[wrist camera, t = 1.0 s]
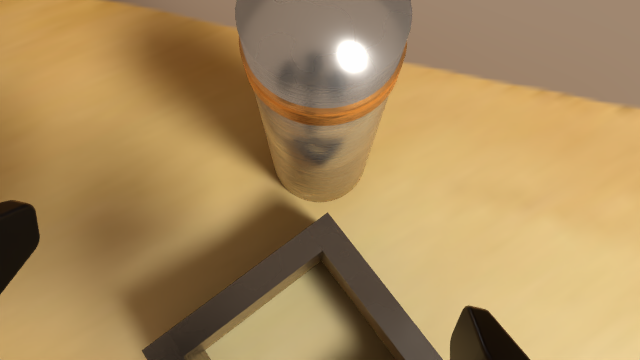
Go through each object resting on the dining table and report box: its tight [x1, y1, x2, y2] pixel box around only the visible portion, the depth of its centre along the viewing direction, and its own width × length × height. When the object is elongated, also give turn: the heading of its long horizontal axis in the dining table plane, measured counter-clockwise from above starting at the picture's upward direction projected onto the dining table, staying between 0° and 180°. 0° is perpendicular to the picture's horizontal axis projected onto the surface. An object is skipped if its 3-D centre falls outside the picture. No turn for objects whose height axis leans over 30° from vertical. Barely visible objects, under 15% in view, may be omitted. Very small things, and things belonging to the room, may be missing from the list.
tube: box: [235, 0, 412, 202], centre depth 18 cm, size 5×5×12 cm
